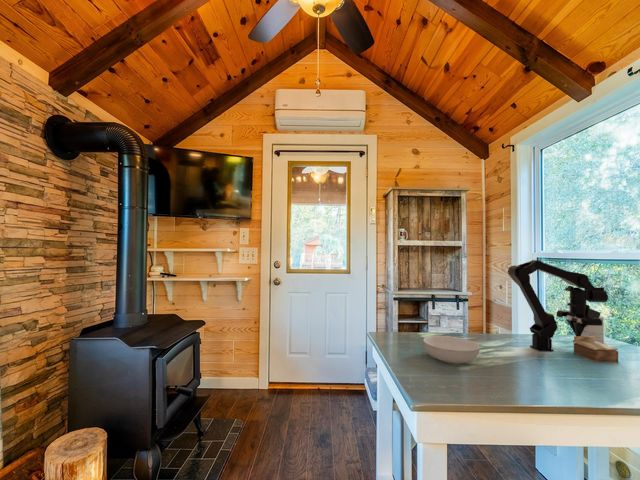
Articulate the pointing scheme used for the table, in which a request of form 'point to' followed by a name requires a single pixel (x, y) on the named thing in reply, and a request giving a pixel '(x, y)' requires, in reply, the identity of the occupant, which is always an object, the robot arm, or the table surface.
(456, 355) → the serving bowl
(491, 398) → the table surface
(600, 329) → the supplement box
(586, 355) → the walnut box
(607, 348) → the lid
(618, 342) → the table surface
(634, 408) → the table surface
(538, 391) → the table surface
